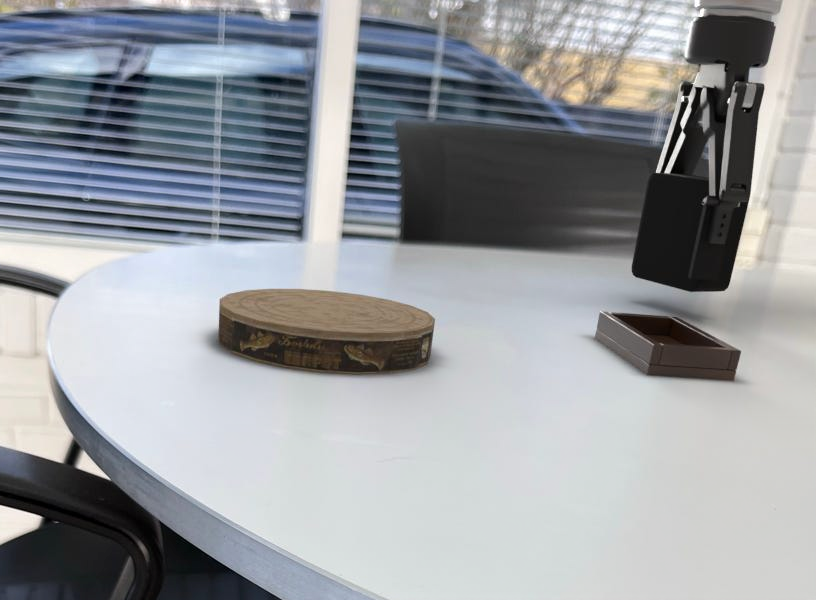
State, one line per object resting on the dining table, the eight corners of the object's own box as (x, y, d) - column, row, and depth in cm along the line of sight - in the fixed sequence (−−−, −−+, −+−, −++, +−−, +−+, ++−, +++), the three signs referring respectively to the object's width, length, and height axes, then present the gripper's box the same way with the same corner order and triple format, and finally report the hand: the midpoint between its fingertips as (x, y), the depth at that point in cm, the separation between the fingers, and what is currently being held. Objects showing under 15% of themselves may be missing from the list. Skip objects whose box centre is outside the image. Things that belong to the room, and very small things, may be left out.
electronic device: (659, 275, 113) (680, 173, 108) (728, 293, 105) (753, 183, 100) (629, 275, 111) (648, 171, 106) (696, 293, 103) (720, 182, 98)
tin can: (180, 353, 74) (181, 309, 73) (265, 318, 88) (267, 280, 87) (397, 389, 70) (402, 344, 69) (451, 347, 84) (456, 308, 83)
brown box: (670, 346, 93) (677, 316, 92) (733, 383, 81) (742, 350, 80) (593, 340, 92) (599, 311, 91) (646, 377, 80) (653, 344, 79)
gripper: (650, 19, 106) (608, 251, 117) (750, 5, 86) (689, 287, 96) (721, 26, 107) (673, 255, 117) (837, 13, 87) (767, 292, 97)
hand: (680, 269), depth 107 cm, fingers closed on electronic device, 10 cm apart
